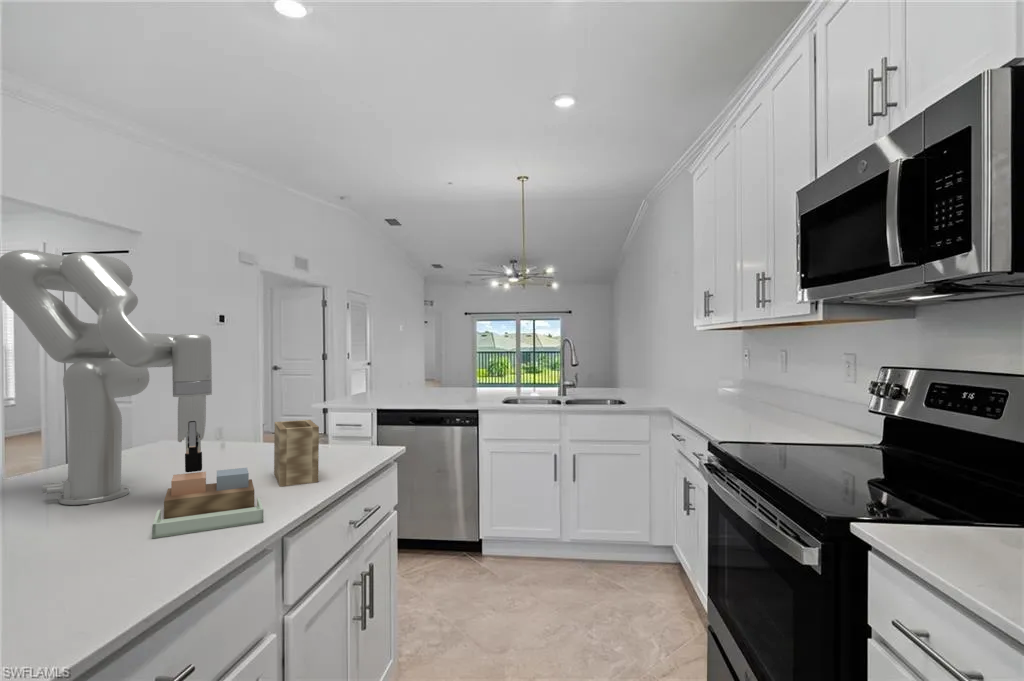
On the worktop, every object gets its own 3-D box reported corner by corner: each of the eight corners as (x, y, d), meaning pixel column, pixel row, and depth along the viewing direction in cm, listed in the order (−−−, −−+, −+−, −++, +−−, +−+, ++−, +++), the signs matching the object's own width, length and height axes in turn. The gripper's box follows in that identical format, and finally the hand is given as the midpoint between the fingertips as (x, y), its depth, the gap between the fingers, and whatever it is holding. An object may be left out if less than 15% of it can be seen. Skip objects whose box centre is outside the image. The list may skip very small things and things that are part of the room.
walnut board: (163, 521, 103) (164, 500, 103) (167, 507, 111) (168, 488, 111) (254, 508, 110) (254, 489, 110) (251, 496, 119) (251, 479, 119)
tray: (152, 538, 93) (152, 524, 93) (157, 522, 102) (157, 509, 102) (263, 522, 102) (263, 509, 102) (259, 508, 110) (259, 497, 111)
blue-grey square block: (216, 490, 110) (216, 476, 110) (216, 484, 115) (216, 470, 115) (248, 487, 113) (248, 473, 113) (246, 480, 118) (247, 467, 118)
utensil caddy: (279, 486, 128) (280, 429, 128) (274, 474, 140) (274, 421, 140) (318, 482, 132) (318, 426, 132) (309, 470, 144) (310, 419, 144)
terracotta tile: (171, 496, 106) (171, 481, 106) (173, 488, 111) (173, 474, 111) (205, 492, 109) (205, 477, 109) (205, 485, 114) (206, 471, 114)
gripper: (174, 388, 121) (176, 466, 121) (170, 392, 108) (171, 480, 108) (212, 386, 125) (213, 462, 125) (211, 390, 112) (212, 475, 112)
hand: (193, 470), depth 117 cm, fingers closed
